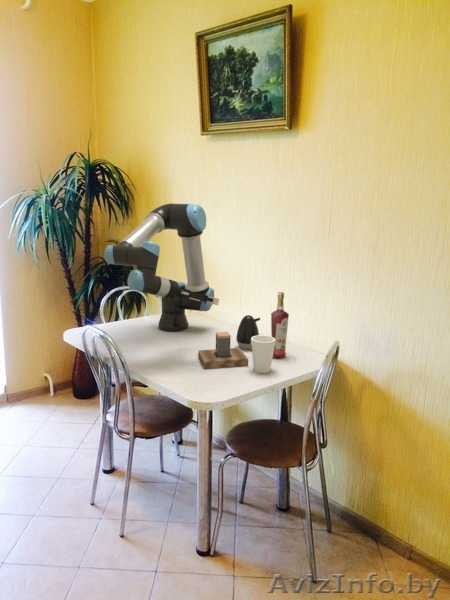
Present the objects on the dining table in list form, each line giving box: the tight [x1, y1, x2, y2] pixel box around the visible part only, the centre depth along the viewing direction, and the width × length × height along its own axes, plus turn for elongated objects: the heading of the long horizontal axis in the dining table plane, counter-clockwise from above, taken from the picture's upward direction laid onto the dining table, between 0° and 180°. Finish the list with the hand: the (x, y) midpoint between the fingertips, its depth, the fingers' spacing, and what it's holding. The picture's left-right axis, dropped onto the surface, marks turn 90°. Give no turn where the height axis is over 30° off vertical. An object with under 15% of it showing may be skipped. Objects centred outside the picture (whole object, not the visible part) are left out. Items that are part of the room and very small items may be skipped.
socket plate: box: [197, 347, 249, 370], centre depth 199 cm, size 18×14×3 cm
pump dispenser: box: [236, 314, 261, 351], centre depth 215 cm, size 10×10×15 cm
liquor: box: [270, 291, 290, 359], centre depth 203 cm, size 7×7×28 cm
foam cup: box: [251, 334, 275, 374], centre depth 189 cm, size 10×9×13 cm
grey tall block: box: [215, 331, 232, 358], centre depth 198 cm, size 5×5×12 cm
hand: (209, 300), depth 202 cm, fingers open, 13 cm apart
